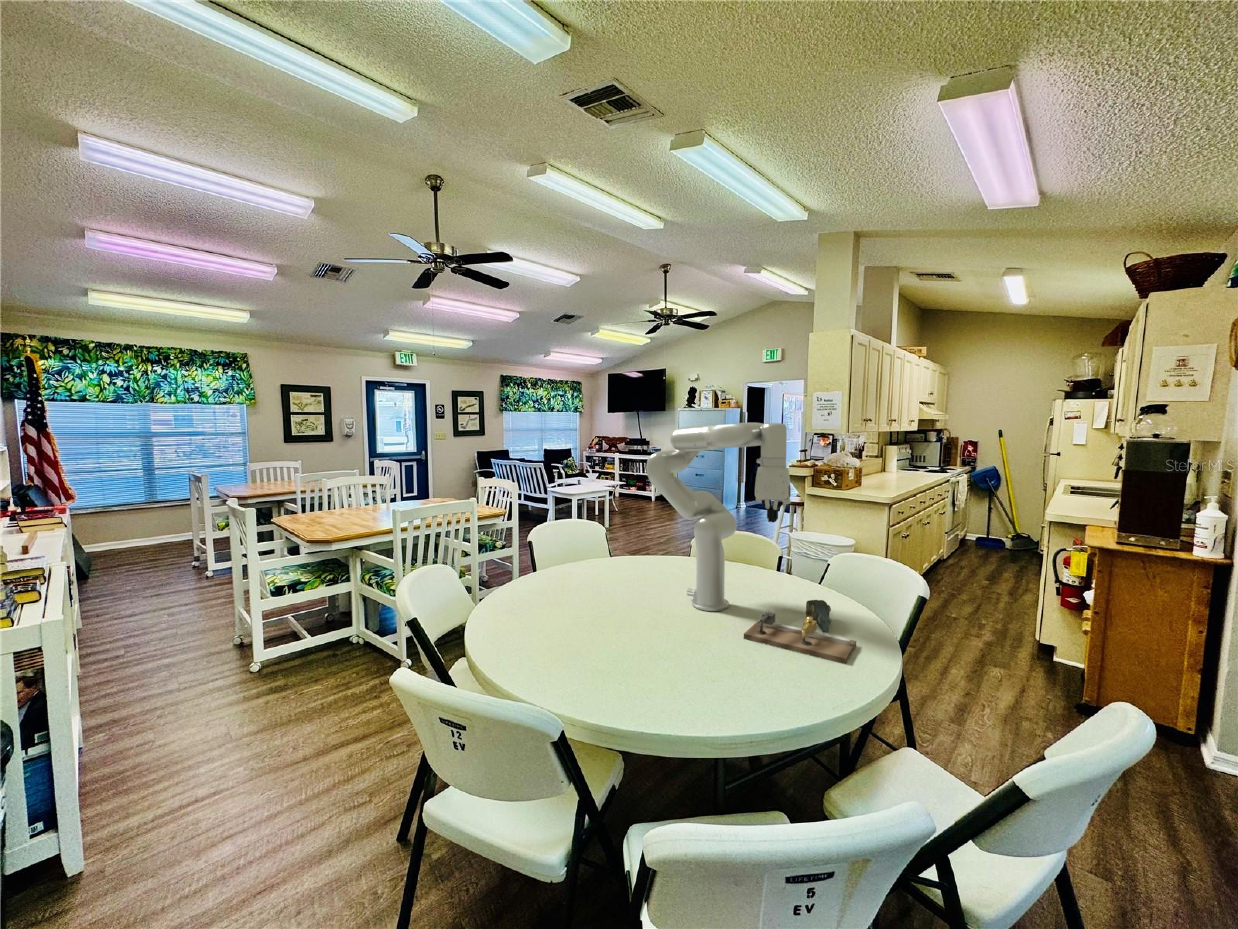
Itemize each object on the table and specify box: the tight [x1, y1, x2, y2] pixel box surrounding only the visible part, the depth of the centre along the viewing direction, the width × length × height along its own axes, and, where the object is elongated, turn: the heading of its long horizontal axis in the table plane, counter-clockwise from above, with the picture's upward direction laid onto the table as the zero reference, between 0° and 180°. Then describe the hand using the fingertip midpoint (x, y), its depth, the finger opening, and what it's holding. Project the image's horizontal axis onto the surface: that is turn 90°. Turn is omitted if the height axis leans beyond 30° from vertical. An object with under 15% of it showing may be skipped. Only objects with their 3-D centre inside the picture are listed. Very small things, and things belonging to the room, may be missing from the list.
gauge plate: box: [743, 610, 857, 665], centre depth 148 cm, size 28×13×5 cm, turn 54°
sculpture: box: [805, 599, 832, 633], centre depth 160 cm, size 13×6×7 cm, turn 172°
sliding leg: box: [801, 617, 817, 641], centre depth 147 cm, size 3×8×5 cm, turn 145°
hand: (772, 521), depth 161 cm, fingers closed
